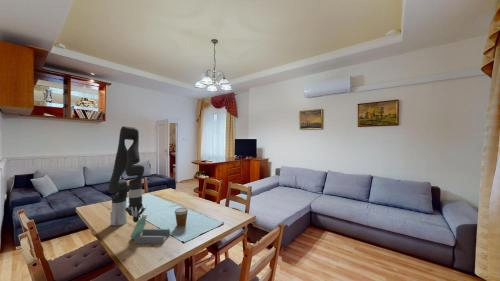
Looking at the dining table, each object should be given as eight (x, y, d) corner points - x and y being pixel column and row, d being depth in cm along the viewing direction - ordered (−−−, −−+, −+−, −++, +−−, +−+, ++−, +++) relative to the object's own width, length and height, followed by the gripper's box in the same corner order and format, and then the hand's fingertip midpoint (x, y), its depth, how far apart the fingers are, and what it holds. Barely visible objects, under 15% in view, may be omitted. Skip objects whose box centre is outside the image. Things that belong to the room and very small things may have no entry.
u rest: (134, 242, 124) (134, 236, 123) (143, 234, 134) (143, 228, 134) (163, 243, 123) (162, 237, 123) (169, 234, 134) (169, 229, 134)
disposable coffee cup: (176, 222, 152) (176, 207, 151) (189, 222, 153) (189, 207, 152) (172, 228, 142) (172, 212, 142) (186, 228, 143) (186, 212, 143)
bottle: (128, 237, 126) (139, 214, 125) (133, 233, 131) (143, 211, 131) (136, 240, 126) (146, 218, 126) (140, 236, 131) (150, 215, 131)
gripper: (121, 197, 124) (122, 224, 124) (142, 197, 124) (142, 224, 124) (129, 193, 131) (129, 219, 132) (148, 193, 131) (149, 219, 132)
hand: (135, 221), depth 128 cm, fingers closed
